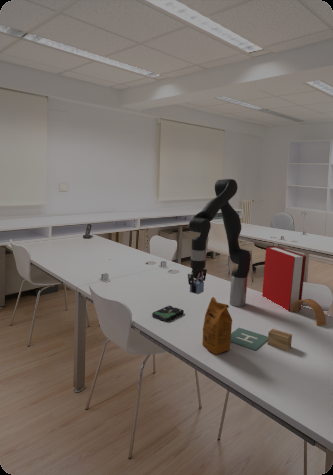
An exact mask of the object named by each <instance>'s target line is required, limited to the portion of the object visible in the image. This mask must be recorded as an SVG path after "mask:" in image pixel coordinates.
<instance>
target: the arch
mask: <svg viewBox="0 0 333 475" xmlns="http://www.w3.org/2000/svg"><path fill="white" fill-rule="evenodd" d="M303 303H305V304H306V305H308V306H309V307H310V308H311V310H312V311H313V313H314V315H315V322H316V323H315V324H316V326H317V327H319V326H324V325H326V324H327V321H326V320H327V319H326V315H325V312H324V310H323V308H322V306H321V305H320V304H319V303H318V302H317V301H316V300H314V299H311V298H305V299H301V300H298V301H296V302H294V303H293V305H292V307H291V310H289V312H290V311H291V312H290V313H295V312H294V311H297V312H300V310H299V308H300V306H302V304H303Z"/></svg>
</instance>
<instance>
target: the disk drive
mask: <svg viewBox="0 0 333 475" xmlns="http://www.w3.org/2000/svg"><path fill="white" fill-rule="evenodd" d="M183 315H184V309H182V308H178V307H174V306H172V305H167V306H165V307H163V308H160V309H158V310H156V311H154V312H152V313H151V317H152V318H154V319H158V320H160V321H163V322H166V323H167V322H169V321H172V320H174V319H176V318H178V317H180V316H183Z"/></svg>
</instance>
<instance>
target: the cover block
mask: <svg viewBox="0 0 333 475" xmlns="http://www.w3.org/2000/svg"><path fill="white" fill-rule="evenodd" d="M267 337H268V340H267V345H268V346H272V347H275V348H278V349H281V350H283V351H287V352H288V350H289V349H291V347H292V342H293V334H292V333H289V332H286V331H282V330H279V329H276V328H272V329H270V331H268V336H267Z"/></svg>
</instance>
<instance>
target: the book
mask: <svg viewBox="0 0 333 475" xmlns="http://www.w3.org/2000/svg"><path fill="white" fill-rule="evenodd" d="M264 256H265V258H264V259H265V260H264V270H263V281H262V293H263V294H261V297H262V296H263V298H264V297H266V298H267V299H266V298H265V299H266V300H268V299H269V300H271V301H272V302H271V301H270V302H271V303H273V302H274V303H273V304H275V303H276V304H278V305H280V306H282V307H283V308H285V309H286V310H285V309H284V310H285V311H287V310H288V311H287V312H290V310H291V307H292V305H293V303H294V302H296V301H298V300H303V299H302V298H303V290H304V289H303V288H304V279H305V278H304V277H305V269H306V259H307V256H306V255H304V254H301V253H297V252H295V251H292V250H289V249H286V248H283V247H279V246H277V245H269V246H267V245H266V247H265V255H264ZM269 300H268V301H269ZM276 304H275V305H276ZM278 305H277V306H278ZM280 306H279V307H280ZM301 306H302V305H301ZM301 306H300V308H299V311H301V308H302V307H301ZM282 307H281V308H282ZM283 308H282V309H283Z"/></svg>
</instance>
